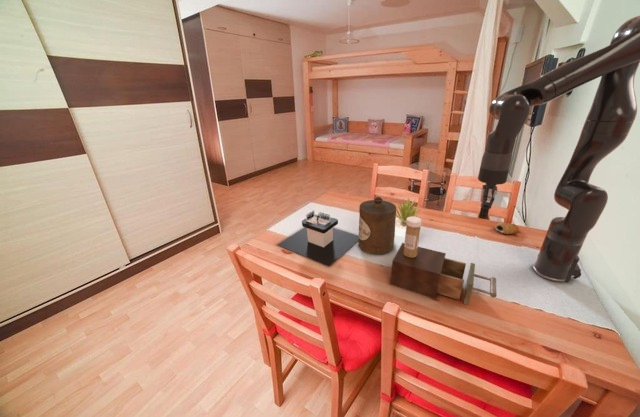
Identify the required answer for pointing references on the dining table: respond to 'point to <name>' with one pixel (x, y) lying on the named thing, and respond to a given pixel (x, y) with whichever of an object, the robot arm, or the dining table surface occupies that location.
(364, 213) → the wooden container
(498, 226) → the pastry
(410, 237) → the sprinkles bottle
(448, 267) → the drawer
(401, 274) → the cabinet
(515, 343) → the dining table surface
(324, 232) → the capped box on tray
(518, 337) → the dining table surface
